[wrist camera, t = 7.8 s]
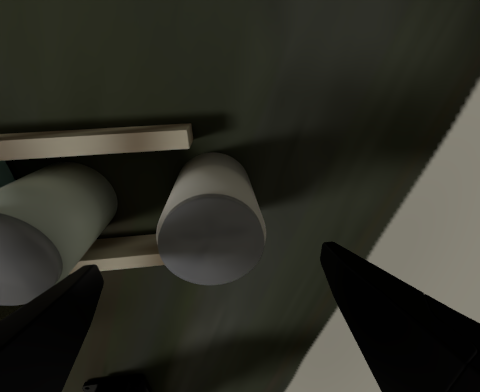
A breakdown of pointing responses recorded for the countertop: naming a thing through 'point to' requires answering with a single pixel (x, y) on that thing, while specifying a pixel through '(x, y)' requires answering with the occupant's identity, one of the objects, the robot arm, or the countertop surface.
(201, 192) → the jar
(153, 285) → the countertop surface
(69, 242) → the jar in lane
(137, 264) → the lane
